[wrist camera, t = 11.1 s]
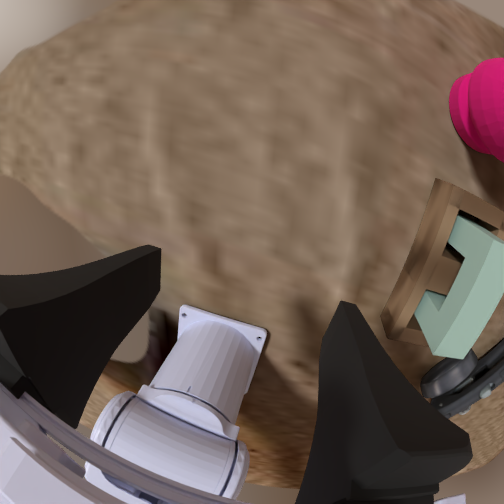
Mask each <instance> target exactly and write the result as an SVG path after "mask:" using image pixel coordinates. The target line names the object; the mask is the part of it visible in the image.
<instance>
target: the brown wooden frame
mask: <svg viewBox="0 0 504 504" xmlns="http://www.w3.org/2000/svg"><path fill="white" fill-rule="evenodd" d="M459 209H461V210H463V211H465V212H467V213H469V214H471V215H473V216H475V217H477V218H479V219H480V220H479V222H478V224H479V225H480V226H482V227H483V228H485V229H486V230H488V231H489V232H491V233H492V234H494V235H495V236H497V237H498V238H500V239H501V240H503V241H504V212H503V211H502V210H500V209H498V208H496V207H495V206H493V205H491V204H489V203H488V202H486V201H484V200H482V199H481V198H479V197H477V196H475V195H473V194H471V193H469V192H467V191H465V190H463V189H461V188H459V187H457V186H455V185H453V184H451V183H448V182H445V181H442V180H440V179H437V178H435V182H434V185H433V188H432V192H431V195H430V198H429V201H428V204H427V207H426V210H425V213H424V216H423V219H422V222H421V224H420V227H419V230H418V233H417V235H416V238H415V240H414V243H413V246H412V248H411V251H410V253H409V255H408V258H407V260H406V263H405V265H404V267H403V270H402V272H401V274H400V276H399V279H398V281H397V283H396V285H395V287H394V289H393V291H392V294H391V296H390V298H389V300H388V302H387V304H386V306H385V308H384V310H383V312H382V314H381V316H380V317H381V320H382V323H383V326H384V330H385V333H386V336H387V338H388V339H392V340H397V341H402V342H407V343H412V344H417V345H422V346H428V347H429V345H428V342H427V340H426V338H425V336H424V334H423V331H422V329H421V327H420V325H419V323H418V321H417V319H416V317H415V314H414V312H415V310H416V308H417V306H418V304H419V302H420V300H421V298H422V296H423V294H424V292H425V290H426V289H428V290H431V291H434V292H438V293H441V294H445V295H448V293H449V291H450V289H451V287H452V285H453V283H454V281H455V279H456V277H457V275H458V273H459V271H460V268H461V266H462V264H463V262H464V259H465V257H464V256H463V255H462V254H460V253H458V252H455V251H453V250H450V249H447V248H445V246H446V244H447V241H448V239H449V236H450V233H451V231H452V228H453V225H454V223H455V220H456V217H457V214H458V211H459Z"/></svg>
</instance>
